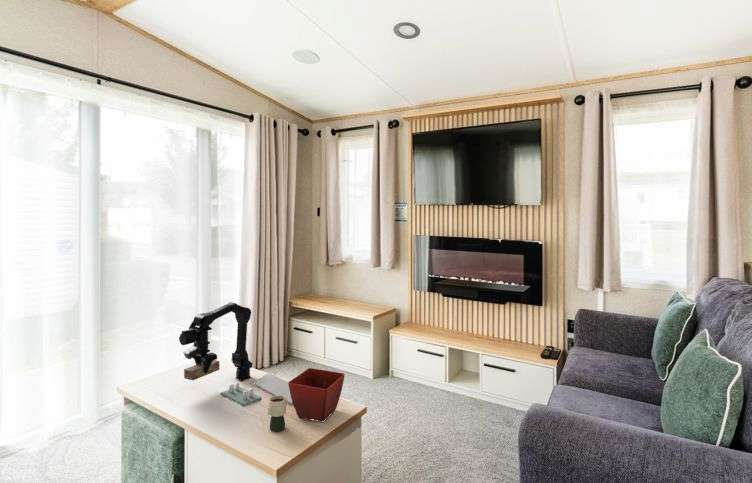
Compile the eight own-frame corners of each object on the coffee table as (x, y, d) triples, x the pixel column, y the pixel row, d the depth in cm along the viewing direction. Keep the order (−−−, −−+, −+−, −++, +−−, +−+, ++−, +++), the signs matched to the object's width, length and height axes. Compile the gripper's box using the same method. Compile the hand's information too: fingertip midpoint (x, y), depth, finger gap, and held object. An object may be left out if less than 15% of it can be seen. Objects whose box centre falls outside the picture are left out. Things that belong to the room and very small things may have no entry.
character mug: (279, 421, 174) (279, 392, 174) (292, 425, 171) (292, 395, 170) (261, 432, 165) (261, 401, 164) (274, 437, 161) (274, 405, 161)
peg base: (238, 388, 208) (238, 378, 208) (261, 399, 196) (261, 389, 196) (221, 394, 201) (220, 384, 200) (243, 406, 188) (243, 395, 188)
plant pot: (326, 428, 169) (326, 389, 168) (287, 420, 175) (287, 382, 175) (345, 408, 187) (345, 373, 186) (309, 402, 193) (309, 367, 192)
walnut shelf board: (211, 367, 208) (211, 359, 208) (219, 369, 206) (219, 361, 206) (184, 378, 194) (184, 369, 194) (192, 380, 191) (192, 371, 191)
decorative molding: (293, 411, 190) (309, 399, 197) (291, 402, 189) (307, 391, 196) (255, 390, 213) (271, 380, 220) (253, 382, 212) (268, 372, 219)
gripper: (176, 340, 199) (177, 371, 200) (195, 347, 187) (195, 380, 188) (198, 335, 207) (199, 365, 208) (217, 342, 196) (217, 373, 196)
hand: (202, 371), depth 200 cm, fingers closed on walnut shelf board, 6 cm apart
